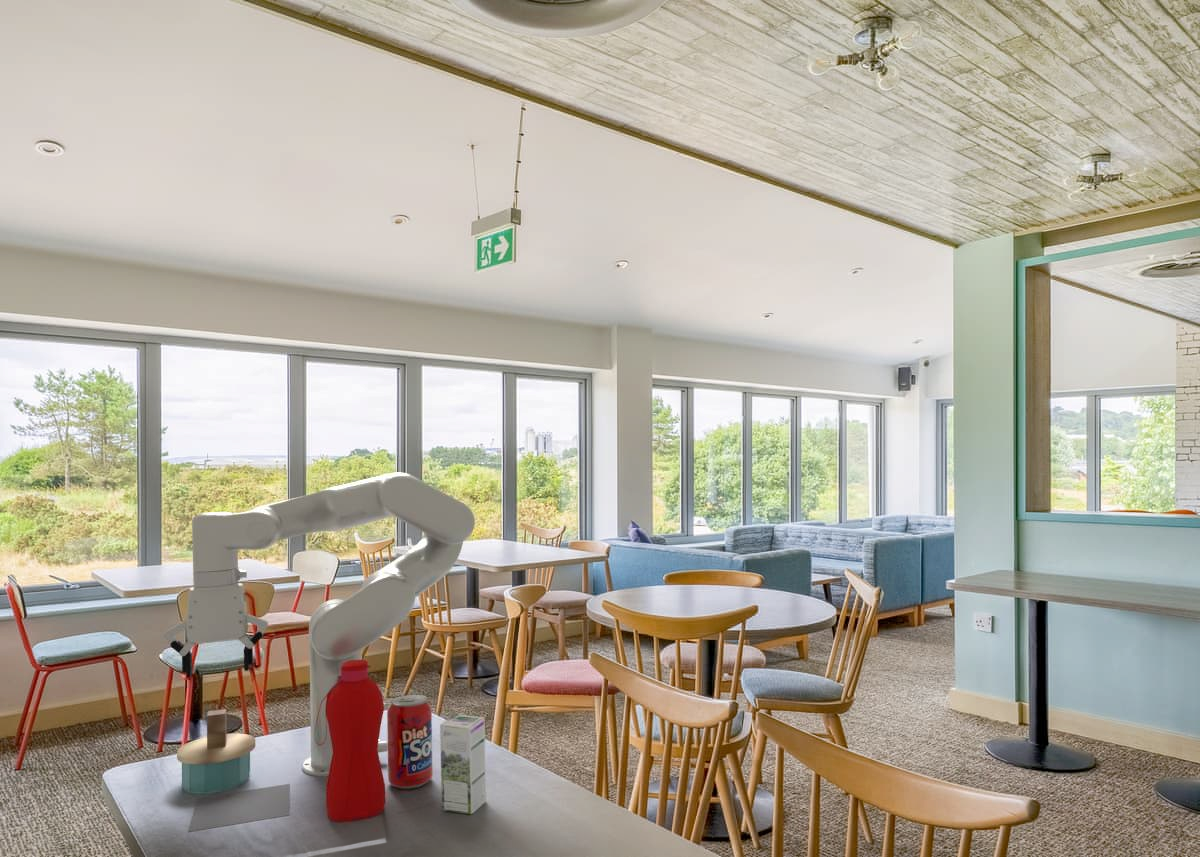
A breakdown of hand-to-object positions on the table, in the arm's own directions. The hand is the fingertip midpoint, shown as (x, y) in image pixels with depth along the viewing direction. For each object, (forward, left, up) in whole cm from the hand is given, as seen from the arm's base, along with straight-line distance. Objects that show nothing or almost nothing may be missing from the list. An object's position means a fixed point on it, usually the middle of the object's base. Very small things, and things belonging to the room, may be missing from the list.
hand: (218, 672), depth 150 cm
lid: (0, 0, -14) cm, 14 cm away
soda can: (-33, +14, -20) cm, 41 cm away
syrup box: (-40, +28, -20) cm, 53 cm away
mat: (-5, +14, -20) cm, 25 cm away
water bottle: (-22, +23, -20) cm, 38 cm away
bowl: (0, 0, -20) cm, 20 cm away
